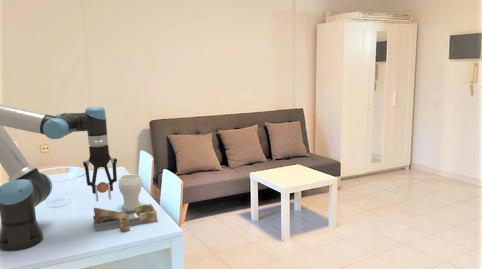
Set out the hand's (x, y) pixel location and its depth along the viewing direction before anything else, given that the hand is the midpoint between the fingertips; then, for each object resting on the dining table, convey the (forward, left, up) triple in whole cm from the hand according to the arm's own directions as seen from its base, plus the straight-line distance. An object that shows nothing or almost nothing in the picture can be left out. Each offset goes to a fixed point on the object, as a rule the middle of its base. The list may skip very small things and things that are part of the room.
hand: (103, 199), depth 167 cm
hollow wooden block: (+7, -8, -12) cm, 16 cm away
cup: (+14, +18, -12) cm, 25 cm away
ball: (0, 0, +5) cm, 5 cm away
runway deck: (+5, 0, -12) cm, 12 cm away
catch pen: (+17, 0, -12) cm, 21 cm away
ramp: (+3, 0, -10) cm, 10 cm away
